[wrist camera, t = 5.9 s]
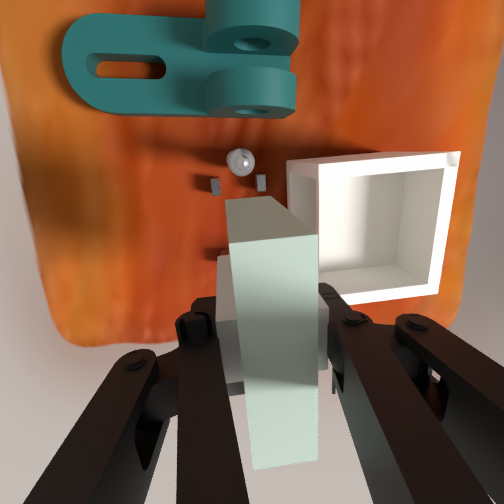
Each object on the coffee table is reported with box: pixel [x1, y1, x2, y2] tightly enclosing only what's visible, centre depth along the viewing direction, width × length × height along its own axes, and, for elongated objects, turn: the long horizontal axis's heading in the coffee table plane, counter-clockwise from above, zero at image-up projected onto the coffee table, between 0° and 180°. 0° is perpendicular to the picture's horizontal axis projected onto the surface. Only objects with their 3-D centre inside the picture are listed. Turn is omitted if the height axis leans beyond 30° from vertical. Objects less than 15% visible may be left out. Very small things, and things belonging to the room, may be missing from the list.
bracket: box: [62, 0, 301, 119], centre depth 21 cm, size 18×7×8 cm, turn 90°
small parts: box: [211, 148, 266, 256], centre depth 24 cm, size 11×5×10 cm, turn 5°
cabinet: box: [286, 151, 461, 305], centre depth 26 cm, size 11×10×10 cm
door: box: [225, 196, 318, 470], centre depth 13 cm, size 9×4×8 cm, turn 4°
